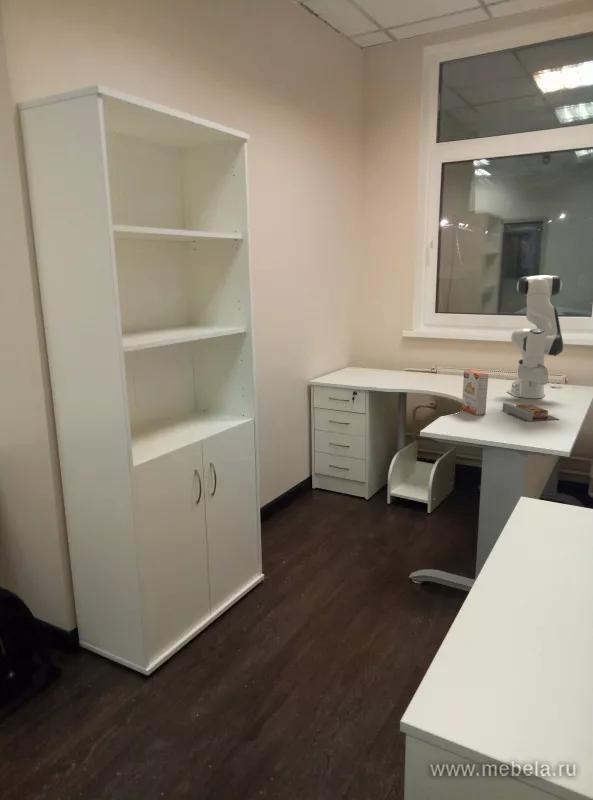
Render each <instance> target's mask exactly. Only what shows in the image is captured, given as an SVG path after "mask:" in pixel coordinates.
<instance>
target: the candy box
mask: <svg viewBox="0 0 593 800" xmlns="http://www.w3.org/2000/svg"><path fill="white" fill-rule="evenodd" d="M515 406H516V407H519V408H521V409H524V410H526V411H529V412H531V413H533V419H547V418H548V415H549V410H546V409H544V408H542V407H540V406H537V405H535V404H532V403H531V404H515Z"/></svg>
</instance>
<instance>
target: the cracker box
mask: <svg viewBox="0 0 593 800" xmlns="http://www.w3.org/2000/svg"><path fill="white" fill-rule="evenodd" d="M488 382H489V374H488V373H486V372H483V371H479V370H476V369H463V379H462V383H463V384H462V398H461V399H462V400H461V409H462V410H464V411H466V412H468V413H470V414H472V415H474V414H475V416H482V415H486V411H487V410H486V409H487V398H488V396H487V395H488Z"/></svg>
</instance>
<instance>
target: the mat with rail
mask: <svg viewBox="0 0 593 800" xmlns="http://www.w3.org/2000/svg"><path fill="white" fill-rule="evenodd" d="M502 410H503V412H505V413H507V415H508V416H511V415H512V416H511V417H514V418H516V419H518V418H519V420H521V421H523V420H524V421H523V422H526V421H528V422H545V421H546V420H548V421H560V418H558V417H555V416H552V415H550V414H548V418H547V419H533V413H531V412H529V411H526V410H524V409H521V408H519V407H516V405H514V404H510V403H508V402H503V403H502Z"/></svg>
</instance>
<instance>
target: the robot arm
mask: <svg viewBox="0 0 593 800" xmlns="http://www.w3.org/2000/svg"><path fill="white" fill-rule="evenodd" d="M562 288H563V282H562V280H561V277H560V276H558V275H548V274H547V275H545V274H541V275H540V274H539V275H530V276H525V275H524V276H522V277H520V278H519V279H518V280H517V283H516V290H517V293H518V294H519V295H520V296H522V297H526V316H525V317H526V319H527V321H528V322H530V323H531V324H534V325H535V326H536V328H527V327H526V328H525V327H523V328H516V329H515V330H514V331H513V332H512V333H511V338H510V340H511V343H512V345H513V346H514V347H516V348H517V349H518V351H519V352H520V354H521V357H522V358H521V359H519V360H518V368H517V377H518V378H517V379H516V380H515V381H513V382H512V383H511V389H507V390H506V393H508V394H510V395H512V396H514V397H516V398H524V399H543V398H544V397H546V393H545V386H546V385H548V383H549V370H548V367H547V366H546V365H544V363H545V356H546V355H548V356H552V357H553V356H554V357H556V356H558V355H560V354H561V353H562V352H563V350H564V339H563V337H562V332H561V324H560V320H559V319H560V318H559V314H558V313H559V312H558V309H557V308H556V307H555V306H553V305H552V303H551V297H553V296H557V295H558V294H560V292H561V290H562Z"/></svg>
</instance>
